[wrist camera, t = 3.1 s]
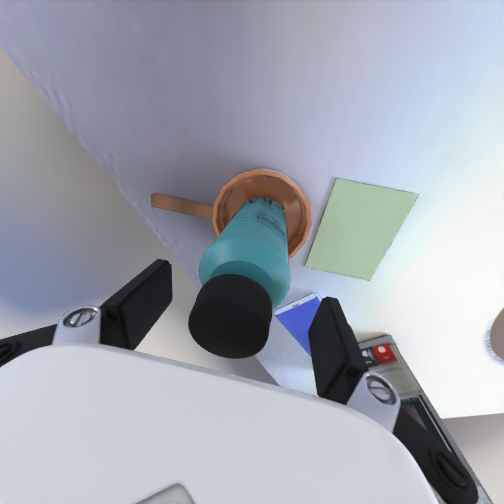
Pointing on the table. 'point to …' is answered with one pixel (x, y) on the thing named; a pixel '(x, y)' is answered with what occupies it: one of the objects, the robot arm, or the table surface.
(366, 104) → the table surface
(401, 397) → the tall grey upright box
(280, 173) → the pan
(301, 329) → the hard drive
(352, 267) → the cloth
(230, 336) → the beverage bottle
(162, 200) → the pan handle
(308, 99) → the table surface
